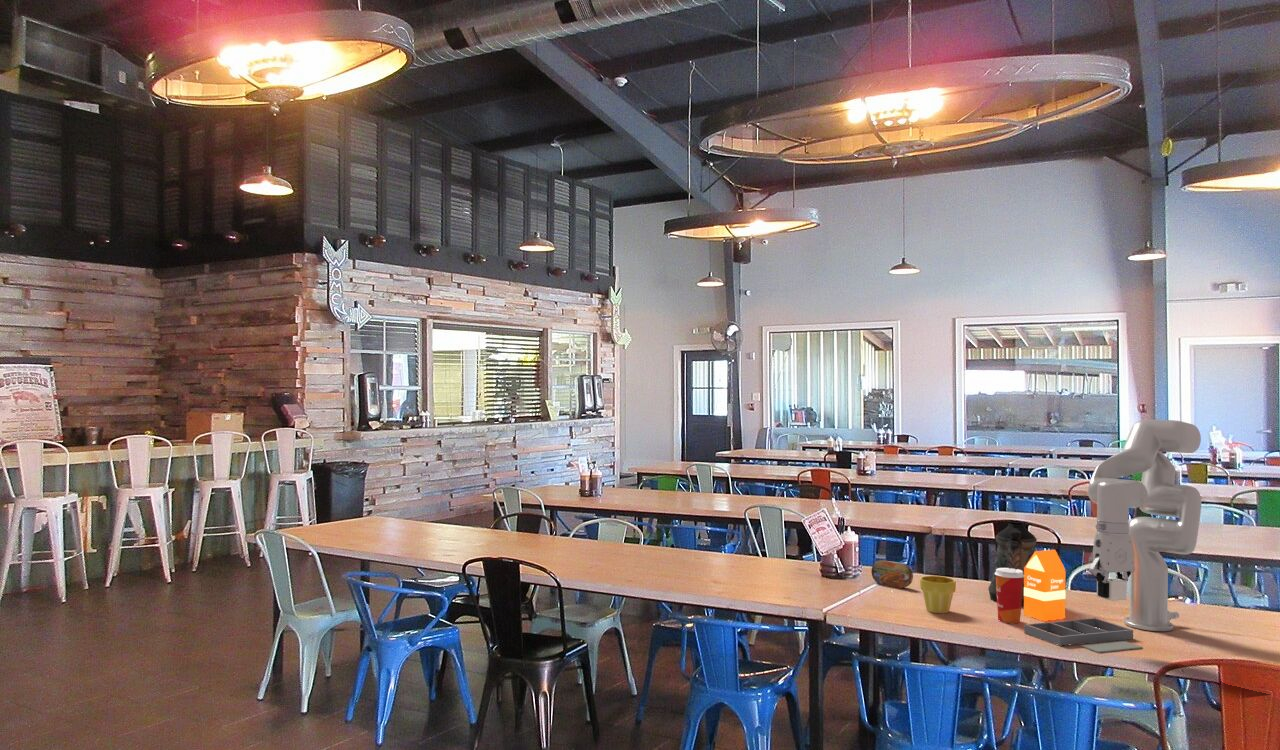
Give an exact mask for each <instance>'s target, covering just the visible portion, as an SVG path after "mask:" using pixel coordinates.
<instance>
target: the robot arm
mask: <svg viewBox="0 0 1280 750" xmlns="http://www.w3.org/2000/svg"><path fill="white" fill-rule="evenodd" d="M1201 443H1202V436H1201V432H1200V430H1199V428H1198V427H1197V426H1196V425H1195V424H1192V423H1188V422H1186V421H1182V420H1172V419H1151V418H1150V419H1149V418H1148V419H1141V420H1137V421H1136V422H1134V424H1133V425H1132V427H1131V429H1130V431H1129V433H1128V436H1127V437H1126V441H1125V442H1124V445H1123V447H1122V449H1121V451H1120V452H1117V453H1116V454H1114V455H1112V456H1110V457H1108V458H1106V459H1105V460H1103V461H1102V462H1100V463H1099V464H1098V465H1097V466H1096V467H1095V469H1094V471H1093V472H1092V475H1091V478H1090V479H1089V482H1088V486H1087V495H1088V498H1089V500H1090V501H1091V502H1092V503H1093V504H1096V524H1095V529H1096V532H1095V534H1094V535H1095V536H1094V538H1093V539H1094V540H1093V547H1092V563H1091V564H1090V566H1089V568H1088V571H1089V572H1090V573H1091V574H1092V575H1093V577H1094V578H1095V581H1096V582H1097V581H1098V596H1100V597H1103V598H1109V583H1107V581H1108V577H1110V574H1111V573H1112V574H1113V573H1115V578H1117V579H1121V580H1125V581H1127V582H1128V581H1129V578H1130V585H1129V586H1130V589H1129V590H1130V593H1129V594H1130V595H1129V598H1130V600H1129V601H1130V602H1129V616H1128V617H1127V616H1126V617H1125V618H1124V619H1123V623H1124V624H1125V625H1126V626H1128V627H1131V628H1134V629H1137V630H1143V631H1144V630H1145V631H1150V632H1170V631H1172V630H1174V628H1175V627H1174V624H1173V623H1172V622H1171V619H1179V618H1180V613H1178V611H1171V612H1170V610H1169V609H1168V608H1169V607H1168V603H1169V601H1168V600H1169V598H1168V597H1169V595H1168V593H1169V590H1168V589H1169V583H1168V582H1169V580H1168V579H1169V578H1168V577H1169V568H1168V565H1167V562H1166V561H1165V558H1163V556H1162V554H1160V553H1170V554H1177V555H1190V554H1192V553H1193V552H1194V551H1195V550H1196V546H1197V542H1198V535H1199V527H1200V520H1201V513H1202V512H1201V511H1202V497H1201V493H1200V492H1199V490H1198V489H1197V488H1196V487H1194V486H1191V485H1186V484H1175V479H1176V474H1177V471H1176V468H1175V466H1174V465H1173V463H1172V462H1171V460H1169V458H1168V457H1167V455H1165V454H1164V452H1165V453H1178V454H1179V453H1181V454H1194V453H1196V452H1197V451H1198V449H1199V448H1200V446H1201ZM1141 473H1142V474H1141ZM1137 474H1141V481H1140V480H1139V481H1138V480H1133V479H1123V478H1124V477H1128V476H1133V475H1137ZM1122 477H1123V478H1122ZM1137 508H1139V510H1141V512H1143V513H1144V514H1149V515H1153V517H1152V516H1137V517H1134V518H1131V520H1129V518H1130V517H1129V516H1130V510H1129V509H1137ZM1154 516H1161V517H1170V518H1178V519H1170V518H1161V517H1154ZM1100 597H1099V598H1100ZM1103 598H1102V599H1103Z"/></svg>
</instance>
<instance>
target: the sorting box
mask: <svg viewBox="0 0 1280 750" xmlns="http://www.w3.org/2000/svg"><path fill="white" fill-rule="evenodd" d="M1095 627H1097V628H1095ZM1099 628H1100V629H1099ZM1073 629H1074V630H1073ZM1076 630H1077V631H1076ZM1047 631H1051V632H1047ZM1078 631H1080V632H1078ZM1052 632H1053V633H1052ZM1081 632H1083V633H1081ZM1025 633H1027V634H1026V635H1028V634H1029V636H1031V635H1033V636H1035V637H1034V638H1036V637H1038V638H1037V639H1039V638H1041V639H1040V640H1042V639H1044V640H1046V641H1045V642H1047V641H1049V642H1048V643H1050V642H1052V643H1055V644H1058V645H1060V646H1059V647H1063V646H1062V645H1069V644H1079V645H1083V644H1082V643H1089V644H1095V643H1094V642H1099V643H1107V642H1106V641H1109V642H1117V641H1116V640H1119V641H1127V639H1129V640H1133V639H1134V630H1133V629H1131V628H1128V627H1124V626H1122V625H1118V624H1116V623H1112V622H1108V621H1105V620H1102V619H1100V618H1098V617H1097V618H1096V617H1091V618H1082V619H1080V618H1079V619H1069V620H1059V621H1057V620H1055V621H1044V622H1035V623H1025V624H1024V634H1025ZM1055 633H1056V634H1055ZM1084 633H1086V634H1084ZM1058 634H1059V635H1058ZM1061 635H1062V636H1061ZM1033 636H1032V637H1033ZM1044 640H1043V641H1044ZM1052 643H1051V644H1052ZM1055 644H1054V645H1055ZM1058 645H1057V646H1058ZM1069 646H1070V645H1069Z"/></svg>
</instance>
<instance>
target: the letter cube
mask: <svg viewBox="0 0 1280 750" xmlns="http://www.w3.org/2000/svg"><path fill="white" fill-rule="evenodd" d="M1107 583H1109V598H1103V597H1100V596H1098V581H1096V597H1097V598H1099V599H1103V600H1107V601H1111V602H1113V601H1114V602H1115V601H1118V602H1119V601H1127V598H1128V596H1127V593H1128V592H1127V589H1128V587H1127V586H1128V581H1125V580H1121V579H1117V578H1116V577H1113V576H1109V577H1108V581H1107Z"/></svg>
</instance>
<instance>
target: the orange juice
mask: <svg viewBox="0 0 1280 750" xmlns="http://www.w3.org/2000/svg"><path fill="white" fill-rule="evenodd" d="M1024 576H1025V577H1024V606H1023V616H1024V615H1026V616H1025V617H1027V616H1029V617H1028V618H1031V617H1033V618H1032V619H1034V618H1036V619H1035V620H1038V619H1039V620H1038V621H1041V620H1043V621H1042V622H1049V621H1048V620H1051V621H1057V620H1056V619H1059V620H1064V619H1063V618H1065V619H1066V568H1065V567H1064V564H1063V563H1062V561H1061V559H1060V556H1059V555H1058V552H1057V551H1056V549H1049V550H1048V549H1046V550H1035V553H1034V554H1033V556H1032V557H1031V559H1030V560H1029V562H1028V563H1027V565H1026V566H1025V567H1024Z"/></svg>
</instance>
